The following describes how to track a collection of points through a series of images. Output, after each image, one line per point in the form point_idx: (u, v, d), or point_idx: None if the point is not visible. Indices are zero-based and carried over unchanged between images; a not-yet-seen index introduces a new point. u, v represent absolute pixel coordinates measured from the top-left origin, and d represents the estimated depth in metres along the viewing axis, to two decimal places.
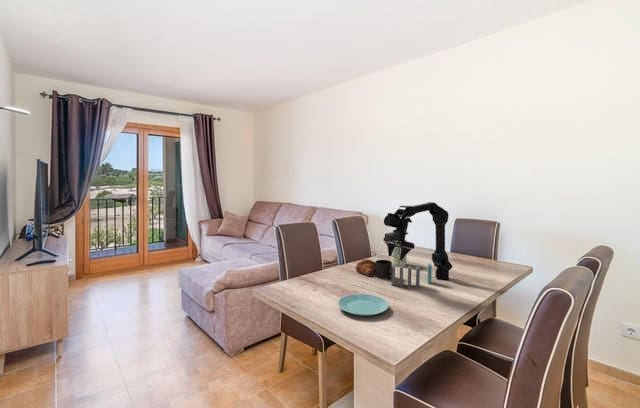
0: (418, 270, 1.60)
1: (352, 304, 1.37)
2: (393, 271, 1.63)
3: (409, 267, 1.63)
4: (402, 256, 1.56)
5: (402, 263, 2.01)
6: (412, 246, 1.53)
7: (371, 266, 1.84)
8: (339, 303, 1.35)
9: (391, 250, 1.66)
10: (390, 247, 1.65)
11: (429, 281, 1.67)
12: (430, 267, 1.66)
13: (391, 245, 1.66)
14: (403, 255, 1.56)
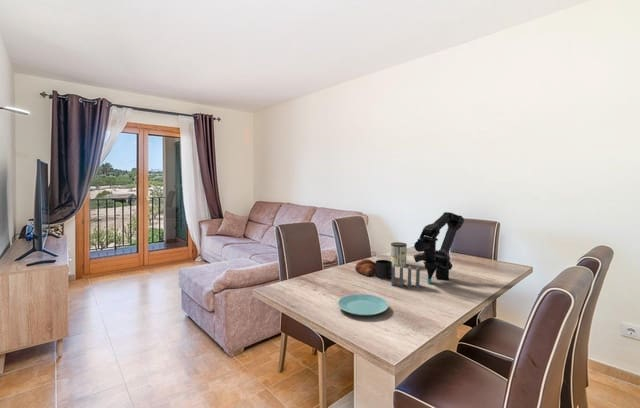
0: (418, 270, 1.60)
1: (352, 304, 1.37)
2: (393, 271, 1.63)
3: (409, 267, 1.63)
4: (429, 275, 1.65)
5: (402, 263, 2.01)
6: (433, 267, 1.59)
7: (370, 266, 1.85)
8: (339, 303, 1.35)
9: None
10: None
11: (429, 281, 1.67)
12: None
13: None
14: (430, 274, 1.65)
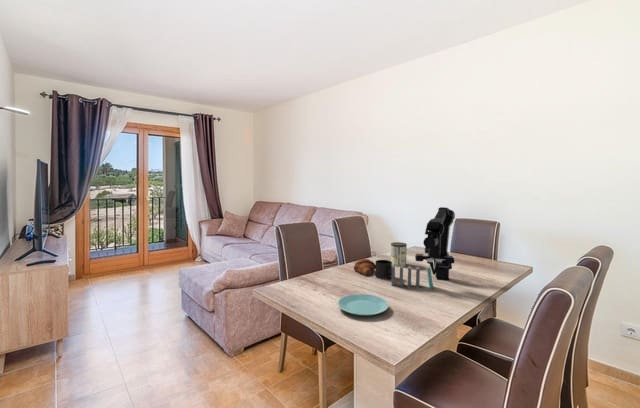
0: (418, 270, 1.60)
1: (352, 304, 1.37)
2: (393, 271, 1.63)
3: (409, 267, 1.63)
4: None
5: (402, 263, 2.01)
6: (415, 258, 1.61)
7: (369, 266, 1.86)
8: (339, 303, 1.35)
9: (434, 268, 1.60)
10: (434, 265, 1.61)
11: (431, 286, 1.59)
12: (429, 271, 1.59)
13: (435, 263, 1.60)
14: None
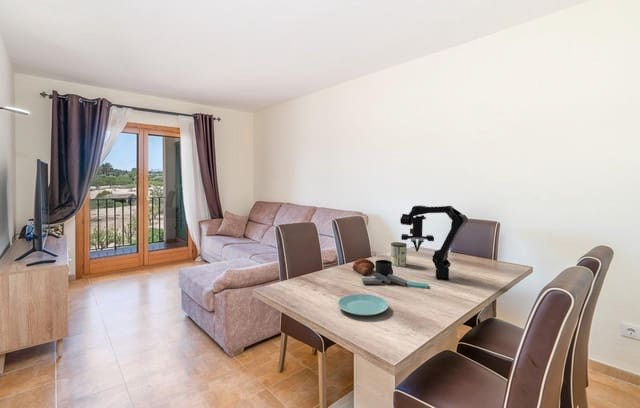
0: (388, 277, 1.68)
1: (352, 304, 1.37)
2: None
3: None
4: (415, 247, 1.87)
5: (402, 263, 2.01)
6: (401, 237, 1.88)
7: (367, 265, 1.86)
8: (339, 303, 1.35)
9: (417, 246, 1.86)
10: None
11: (424, 287, 1.60)
12: (409, 285, 1.63)
13: (418, 242, 1.86)
14: (415, 247, 1.87)
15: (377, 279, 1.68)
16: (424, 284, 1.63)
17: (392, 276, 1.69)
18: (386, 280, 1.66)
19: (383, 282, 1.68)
